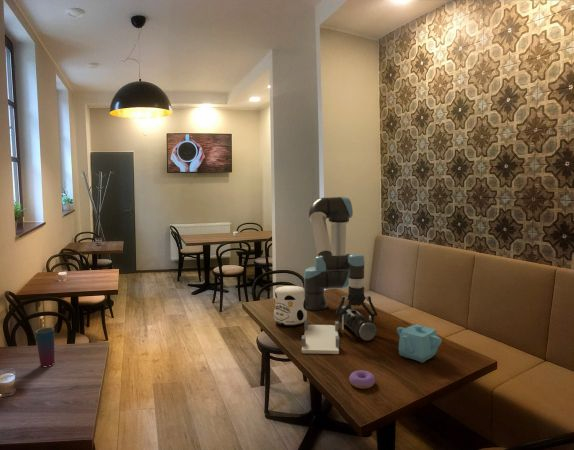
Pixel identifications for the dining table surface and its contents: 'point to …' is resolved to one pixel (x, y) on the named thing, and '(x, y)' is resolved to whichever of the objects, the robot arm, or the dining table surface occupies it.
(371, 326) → the muzzle brake
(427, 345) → the teapot
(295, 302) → the milk container
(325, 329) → the mounting board
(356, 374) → the donut
